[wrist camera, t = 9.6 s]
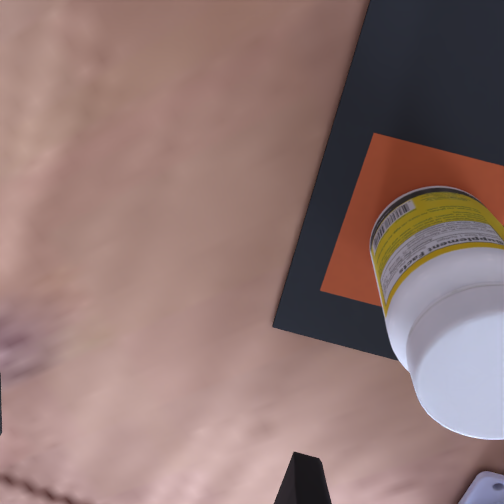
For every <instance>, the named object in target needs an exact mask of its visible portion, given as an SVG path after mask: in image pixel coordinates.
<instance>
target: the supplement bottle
mask: <svg viewBox="0 0 504 504" xmlns="http://www.w3.org/2000/svg"><path fill="white" fill-rule="evenodd" d="M370 255H371V260H372V264H373V268H374V272H375V277H376V281H377V286H378V290H379V295H380V299H381V304H382V308H383V313H384V317H385V323H386V328H387V332H388V336H389V340H390V343H391V346H392V349H393V351H394V353H395V355H396V357H397V358H398V360H399V361H400V362H401V364H402V365H403V366H404V367H405V368H406V369H407V370H408V371H409V372H410V375H411V378H412V382H413V385H414V389H415V392H416V395H417V397H418V400H419V402H420V404H421V405H422V407H423V408H424V409H425V411H426V412H427V413H428V414H429V415H430V416H431V417H432V418H433V419H434V420H435V421H437V422H438V423H439V424H441V425H442V426H444V427H445V428H447V429H449V430H451V431H453V432H456V433H458V434H461V435H464V436H468V437H473V438H478V439H487V440H503V439H504V226H503V225H502V224H501V223H500V222H499V221H498V220H497V219H496V218H495V217H494V216H493V214H492V213H491V212H490V211H489V210H488V209H487V208H486V207H485V206H484V204H482V203H481V202H480V201H479V200H478V199H477V198H475V197H474V196H473V195H471V194H469V193H467V192H465V191H463V190H460V189H457V188H453V187H448V186H428V187H423V188H419V189H416V190H412V191H410V192H408V193H406V194H403V195H402V196H400V197H398V198H397V199H395V200H394V201H393V202H391V203H390V204H389V205H388V206H387V207H386V208H385V209H384V210H383V211H382V213H381V214H380V215H379V217H378V219H377V220H376V222H375V224H374V227H373V230H372V232H371V237H370Z"/></svg>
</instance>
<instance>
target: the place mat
mask: <svg viewBox="0 0 504 504" xmlns="http://www.w3.org/2000/svg"><path fill="white" fill-rule="evenodd" d="M428 186H448V187H453V188H457V189H460V190H463V191H465V192H467V193H469V194H471V195H473V196H474V197H475V198H477V199H478V200H479V201H480V202H481V203H482V204H484V206H485V207H486V208H487V209H488V210H489V211H490V212H491V213H492V214H493V216H494V217H495V218H496V219H497V220H498V221H499V222H500V223H501V224H502V225H503V226H504V0H370V3H369V6H368V10H367V13H366V16H365V20H364V23H363V26H362V30H361V33H360V36H359V40H358V43H357V46H356V50H355V53H354V56H353V60H352V63H351V66H350V70H349V73H348V76H347V80H346V83H345V86H344V90H343V93H342V96H341V100H340V103H339V106H338V110H337V113H336V116H335V120H334V123H333V126H332V129H331V133H330V136H329V139H328V143H327V146H326V149H325V153H324V156H323V159H322V163H321V166H320V169H319V173H318V176H317V179H316V183H315V186H314V189H313V193H312V196H311V199H310V203H309V206H308V209H307V213H306V216H305V219H304V223H303V226H302V229H301V233H300V236H299V239H298V243H297V246H296V249H295V253H294V256H293V259H292V263H291V266H290V269H289V273H288V276H287V279H286V283H285V286H284V289H283V293H282V296H281V299H280V303H279V306H278V309H277V313H276V316H275V319H274V323H273V327H274V328H277V329H281V330H285V331H289V332H293V333H296V334H300V335H304V336H308V337H311V338H315V339H319V340H323V341H326V342H330V343H334V344H338V345H341V346H345V347H349V348H353V349H357V350H360V351H364V352H368V353H372V354H375V355H379V356H383V357H387V358H390V359H394V360H398V358H397V357H396V355H395V353H394V351H393V349H392V346H391V343H390V340H389V336H388V332H387V328H386V323H385V317H384V313H383V308H382V304H381V299H380V295H379V290H378V286H377V281H376V277H375V272H374V268H373V264H372V260H371V255H370V237H371V232H372V230H373V227H374V224H375V222H376V220H377V219H378V217H379V215H380V214H381V213H382V211H383V210H384V209H385V208H386V207H387V206H388V205H389V204H390V203H391V202H393V201H394V200H395V199H397V198H398V197H400V196H402V195H403V194H406V193H408V192H410V191H412V190H416V189H419V188H423V187H428ZM398 361H399V360H398Z"/></svg>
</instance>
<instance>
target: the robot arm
mask: <svg viewBox="0 0 504 504" xmlns="http://www.w3.org/2000/svg"><path fill="white" fill-rule="evenodd" d="M1 433H2V412H1V375H0V435H1ZM274 504H332V503H331V499H330V495H329V491H328V487H327V483H326V479H325V475H324V470H323V465H322V462H321V461H320V459H319V458H316V457H312V456H308V455H305V454H301V453H297V452H294V453H293V455H292V458H291V460H290V463H289V466H288V468H287V471H286V473H285V476H284V479H283V481H282V484H281V487H280V489H279V492H278V494H277V497H276V500H275V502H274ZM458 504H504V475H501V474H497V473H494V472H490V471H484V472H481V473H479V474H478V475H477V476H476V478H475V479H474V481H473V482H472V484H471V485H470V487H469V488H468V490H467V491H466V493H465V494H464V496H463V497H462V499H461V500H460V502H459V503H458Z"/></svg>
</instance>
